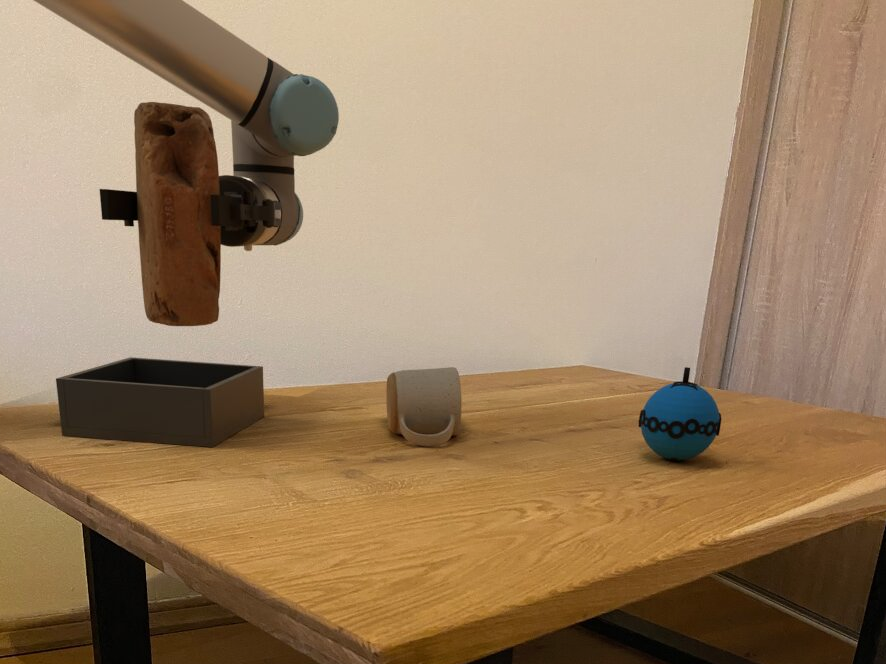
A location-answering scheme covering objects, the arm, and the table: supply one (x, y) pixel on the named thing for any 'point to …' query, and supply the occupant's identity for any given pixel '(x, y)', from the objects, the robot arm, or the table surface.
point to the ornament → (680, 420)
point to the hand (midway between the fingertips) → (159, 207)
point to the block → (177, 214)
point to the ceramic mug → (424, 405)
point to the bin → (161, 401)
